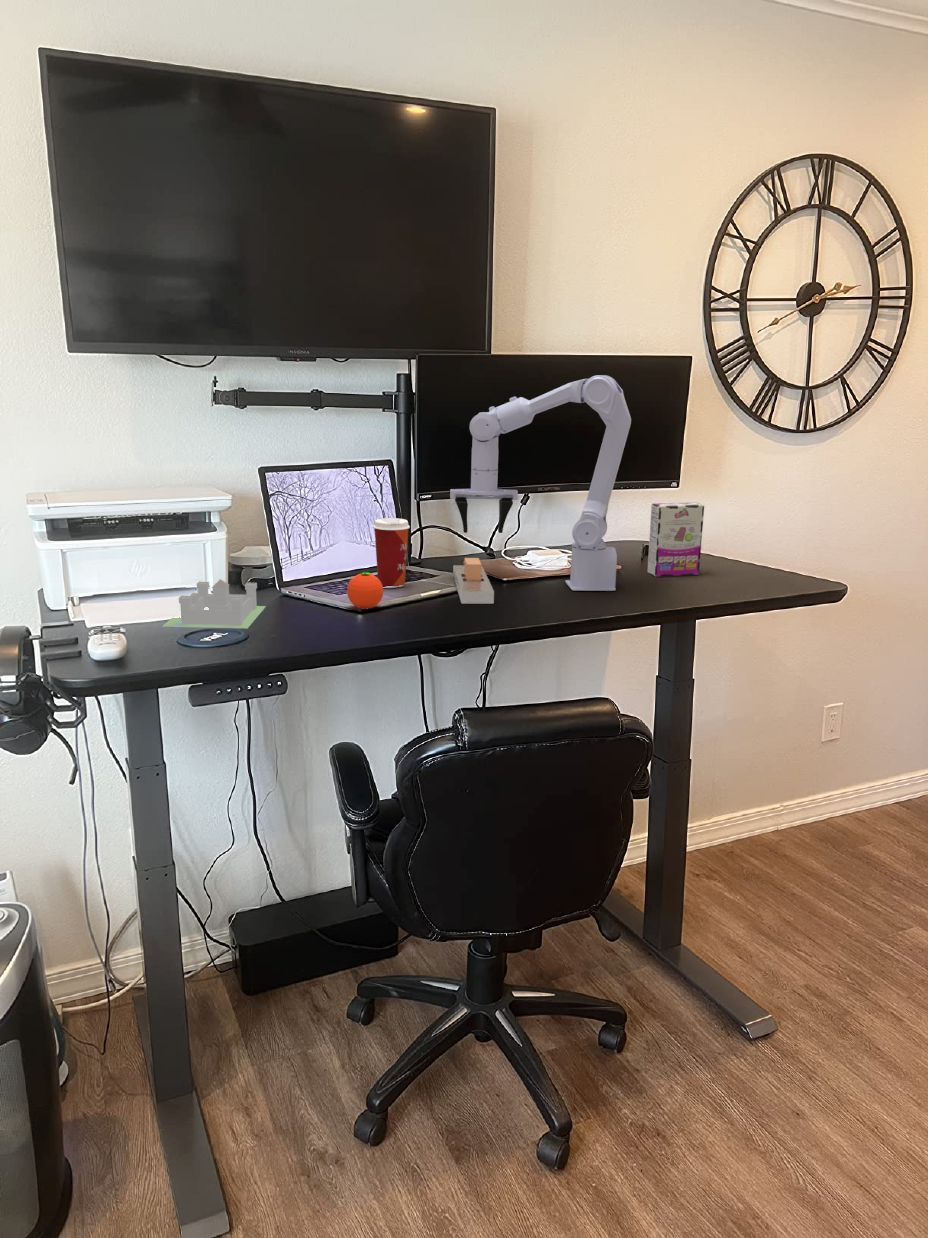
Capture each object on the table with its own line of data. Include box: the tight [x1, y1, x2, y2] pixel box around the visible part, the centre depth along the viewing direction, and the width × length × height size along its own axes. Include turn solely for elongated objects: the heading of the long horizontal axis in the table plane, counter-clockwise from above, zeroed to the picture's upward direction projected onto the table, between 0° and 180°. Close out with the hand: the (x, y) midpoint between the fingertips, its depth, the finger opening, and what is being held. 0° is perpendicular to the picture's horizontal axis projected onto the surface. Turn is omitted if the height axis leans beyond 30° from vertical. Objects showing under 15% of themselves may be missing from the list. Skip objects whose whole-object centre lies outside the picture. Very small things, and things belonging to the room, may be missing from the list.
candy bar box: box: [647, 502, 705, 578], centre depth 205 cm, size 11×5×16 cm, turn 104°
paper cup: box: [372, 517, 411, 586], centre depth 188 cm, size 8×8×14 cm
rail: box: [452, 564, 495, 605], centre depth 189 cm, size 6×24×2 cm, turn 5°
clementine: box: [346, 571, 384, 610], centre depth 172 cm, size 8×7×7 cm
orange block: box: [463, 557, 482, 581], centre depth 188 cm, size 3×6×6 cm, turn 5°
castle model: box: [162, 579, 267, 630], centre depth 164 cm, size 15×15×7 cm
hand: (482, 532), depth 196 cm, fingers open, 7 cm apart
